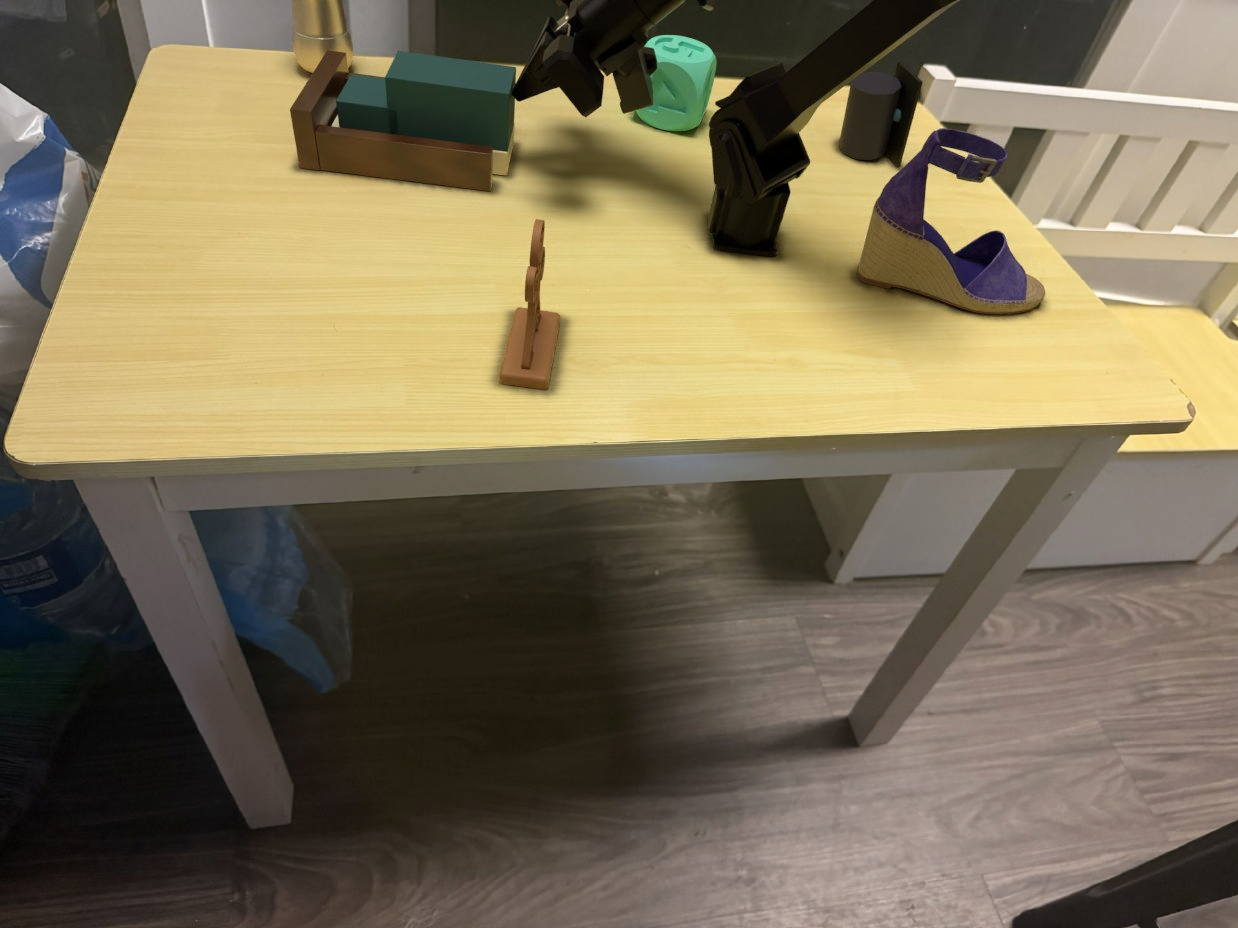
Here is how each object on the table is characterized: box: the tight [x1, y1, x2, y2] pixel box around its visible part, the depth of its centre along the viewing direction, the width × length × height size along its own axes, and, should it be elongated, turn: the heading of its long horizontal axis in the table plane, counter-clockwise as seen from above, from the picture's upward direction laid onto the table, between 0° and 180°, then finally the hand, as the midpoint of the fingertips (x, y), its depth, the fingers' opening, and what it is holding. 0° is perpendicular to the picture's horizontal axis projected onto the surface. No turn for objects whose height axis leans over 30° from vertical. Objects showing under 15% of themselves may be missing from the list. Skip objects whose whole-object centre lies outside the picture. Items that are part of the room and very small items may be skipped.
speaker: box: [838, 61, 924, 168], centre depth 97 cm, size 8×6×10 cm
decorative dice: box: [634, 34, 717, 132], centre depth 97 cm, size 8×8×8 cm
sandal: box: [856, 127, 1046, 315], centre depth 77 cm, size 8×20×15 cm, turn 81°
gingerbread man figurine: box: [499, 218, 561, 390], centre depth 63 cm, size 9×4×12 cm, turn 176°
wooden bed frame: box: [289, 50, 494, 192], centre depth 85 cm, size 19×14×6 cm
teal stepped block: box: [332, 50, 517, 176], centre depth 84 cm, size 18×7×8 cm, turn 89°
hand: (515, 96), depth 83 cm, fingers closed, pressing on teal stepped block
